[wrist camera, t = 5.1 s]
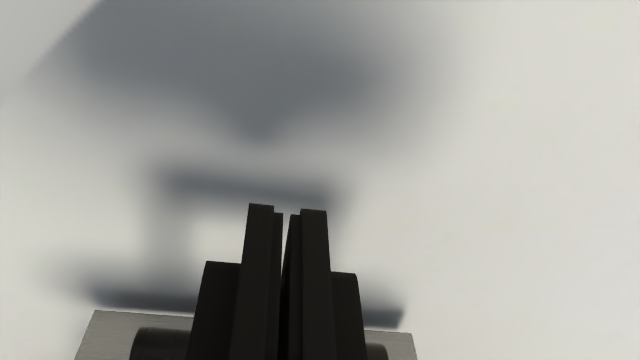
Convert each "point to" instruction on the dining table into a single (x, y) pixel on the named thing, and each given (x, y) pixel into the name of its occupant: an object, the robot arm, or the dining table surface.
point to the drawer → (174, 332)
